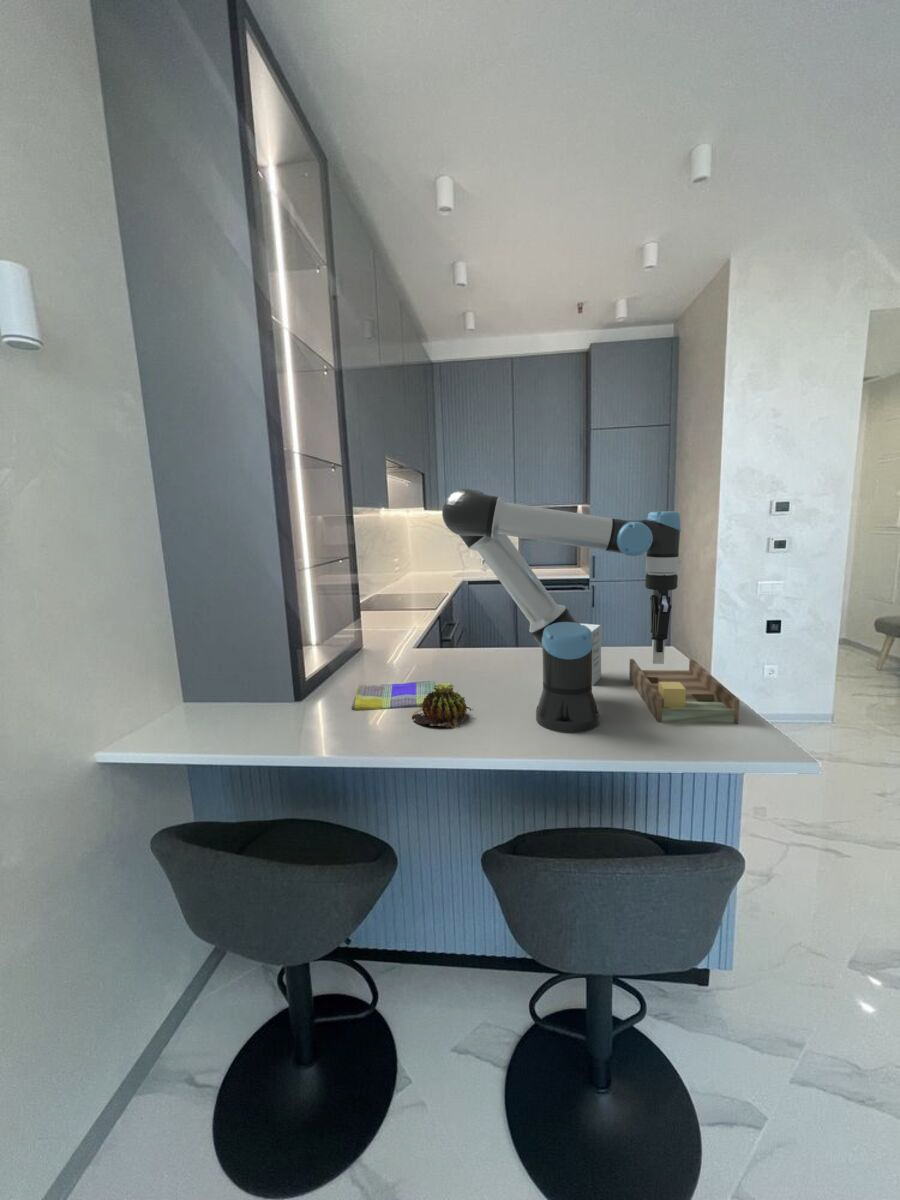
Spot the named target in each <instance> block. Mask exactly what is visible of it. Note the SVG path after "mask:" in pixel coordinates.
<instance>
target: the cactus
mask: <svg viewBox="0 0 900 1200" xmlns="http://www.w3.org/2000/svg"><path fill="white" fill-rule="evenodd" d="M434 686H435V687H434V689H435V690H436V691H434V692H432V693H431V692H430V693H428V695H427V696H425V697H426V698H424V701H422V702H423V703H421V704H422V705H423V707H420V708H419V709H417V710H416V711H414V712H413V714H411V720H413V722H415V723H417V724H419V725H429V726H435V727H436V726H438V727H446V728H452V729H455V728H462V726H463V725H461V724H460V723H463V722H464V721H465V718H466V717H467V718H466V720H468V719H469V714H466V713H467V710H468V709H469V711H474V709H473V708H471V707H469V706H467V703H466V697H463V696H461V694H460V693H459V691H457V692H455V690H454V687H455V686H454V685H453V684H452V683H450V682H449V683H448V682H446V683H445V682H442V683H441V682H440V683H436V684H435V685H434ZM421 711H422V712H421ZM418 712H421V713H418ZM472 719H474V720H475V718H472ZM465 726H466V727H467V724H465Z"/></svg>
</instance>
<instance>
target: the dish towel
mask: <svg viewBox="0 0 900 1200" xmlns="http://www.w3.org/2000/svg"><path fill="white" fill-rule="evenodd" d="M434 685H436V682H435V680H426V681H425V680H423V681H413V682H406V683H405V682H403V683H390V684H388V683H387V684H378V685H377V684H359V685H356V686H357V687H356V692H355V695H354V697H353V700H352V703H351V710H352V711H357V712H358V711H374V710H375V711H376V710H377V711H378V710H393V709H394V710H396V709H407V708H422V707H423V705H422V704H421V703H423V702H422V701H424V698H426V697H425V696H427V695H428V693H430V692H431V693H432V692H434V691H436V690H435V689H434V687H435V686H434Z"/></svg>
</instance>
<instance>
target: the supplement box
mask: <svg viewBox="0 0 900 1200" xmlns="http://www.w3.org/2000/svg"><path fill="white" fill-rule="evenodd" d="M580 624H581V625H584V626H586V627H588V628H589V629H590V631H591V633H592V638H593V647H592V687H594V686H595V685H596V683H597V682H599V680H600V679H601V678H602V625H601V624H591V623H580Z"/></svg>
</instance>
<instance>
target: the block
mask: <svg viewBox="0 0 900 1200" xmlns="http://www.w3.org/2000/svg"><path fill="white" fill-rule="evenodd" d="M658 693H659V695H660V696H661V697H662V699H663V703H662V707H678V708H685V698H686V689H685V687H684V686H683V685H682V684H681V683H680V682H659V685H658Z"/></svg>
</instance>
